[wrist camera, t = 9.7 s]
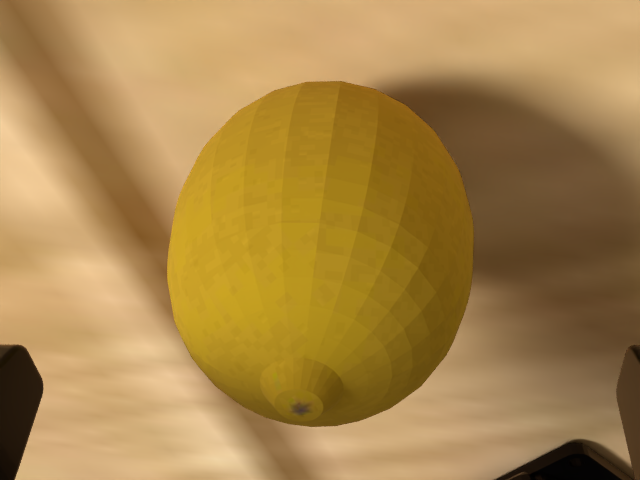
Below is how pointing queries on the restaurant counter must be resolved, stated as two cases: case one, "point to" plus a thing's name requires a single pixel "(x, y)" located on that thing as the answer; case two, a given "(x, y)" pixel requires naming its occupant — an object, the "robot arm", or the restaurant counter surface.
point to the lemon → (321, 254)
